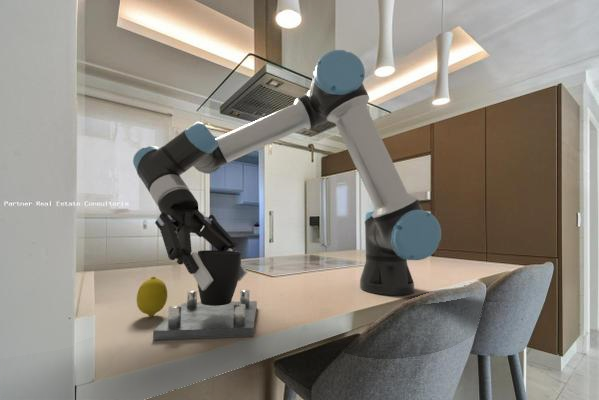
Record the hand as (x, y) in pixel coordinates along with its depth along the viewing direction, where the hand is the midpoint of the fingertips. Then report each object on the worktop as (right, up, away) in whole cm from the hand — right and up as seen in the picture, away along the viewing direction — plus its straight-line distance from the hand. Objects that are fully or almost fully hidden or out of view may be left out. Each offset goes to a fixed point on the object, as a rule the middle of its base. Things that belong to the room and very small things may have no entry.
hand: (226, 280), depth 53 cm
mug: (-3, -4, +2) cm, 5 cm away
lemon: (-16, -9, +3) cm, 19 cm away
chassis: (-3, -8, +1) cm, 9 cm away
